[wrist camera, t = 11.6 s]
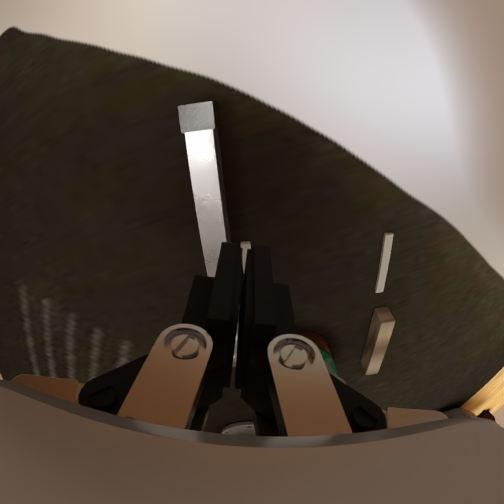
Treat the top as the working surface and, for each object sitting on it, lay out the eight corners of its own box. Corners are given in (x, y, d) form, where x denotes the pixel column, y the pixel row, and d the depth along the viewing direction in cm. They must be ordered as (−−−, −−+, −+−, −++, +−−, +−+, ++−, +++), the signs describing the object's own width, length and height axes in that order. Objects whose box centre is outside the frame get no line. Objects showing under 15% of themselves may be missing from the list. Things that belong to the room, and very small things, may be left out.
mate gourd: (476, 414, 61) (490, 447, 48) (493, 403, 60) (508, 435, 47) (471, 422, 65) (484, 454, 52) (488, 412, 63) (501, 443, 50)
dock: (372, 358, 41) (377, 373, 38) (245, 371, 42) (245, 387, 39) (387, 306, 36) (395, 321, 33) (237, 320, 36) (236, 336, 34)
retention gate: (222, 101, 24) (209, 100, 17) (246, 316, 36) (245, 366, 29) (196, 104, 24) (173, 106, 17) (227, 317, 36) (222, 367, 29)
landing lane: (381, 289, 34) (382, 292, 34) (247, 301, 35) (247, 303, 34) (391, 232, 30) (393, 234, 30) (240, 241, 31) (240, 244, 30)
